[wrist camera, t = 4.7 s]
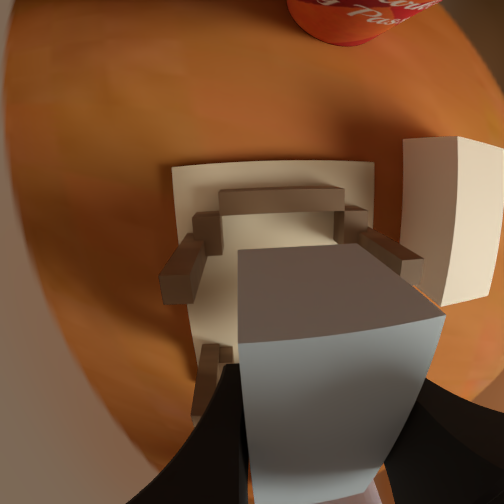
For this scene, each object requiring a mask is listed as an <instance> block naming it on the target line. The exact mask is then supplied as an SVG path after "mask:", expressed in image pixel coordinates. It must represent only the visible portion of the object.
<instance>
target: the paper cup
mask: <svg viewBox="0 0 504 504" xmlns="http://www.w3.org/2000/svg"><path fill="white" fill-rule="evenodd" d="M440 1H442V0H287V6H288V10H289V12H290V14H291V16H292V18H293V19H294V21H295V22H296V23H297V24H298V25H299V26H300V27H301V28H302V29H303V30H304V31H306V32H307V33H308V34H310V35H311V36H313V37H315V38H317V39H319V40H321V41H323V42H326V43H329V44H333V45H337V46H357V45H360V44H363V43H366V42H368V41H370V40H371V39H373V38H375V37H377V36H378V35H380V34H382V33H384V32H385V31H387V30H389V29H390V28H392V27H394V26H395V25H397V24H399V23H401V22H403V21H404V20H406V19H408V18H410V17H411V16H413V15H415V14H417V13H419V12H421V11H422V10H424V9H426V8H428V7H430V6H432V5H434V4H436V3H438V2H440Z"/></svg>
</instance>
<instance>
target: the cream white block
mask: <svg viewBox="0 0 504 504" xmlns="http://www.w3.org/2000/svg"><path fill="white" fill-rule="evenodd" d="M503 206H504V149H502V148H499V147H496V146H492V145H489V144H485V143H482V142H478V141H474V140H471V139H467V138H463V137H458V136H448V137H425V138H410V139H403V201H402V220H401V233H400V244H401V245H402V246H404V247H406V248H407V249H409V250H411V251H412V252H414V253H416V254H418V255H419V256H421V257H422V258H424V264H423V270H422V276H421V282H420V285H415V286H416V287H417V288H418V289H420V290H421V291H422V292H423V293H425V294H426V295H427V296H428V297H430V298H431V299H432V300H433V301H434V302H436V303H437V304H438V305H439V306H440V307H441V306H446V305H451V304H455V303H460V302H464V301H468V300H472V299H476V298H480V297H484V296H488V294H489V290H490V286H491V282H492V277H493V273H494V268H495V263H496V258H497V252H498V247H499V240H500V233H501V226H502V217H503Z"/></svg>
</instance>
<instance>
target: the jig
mask: <svg viewBox="0 0 504 504" xmlns="http://www.w3.org/2000/svg"><path fill="white" fill-rule="evenodd" d="M172 180H173V192H174V204H175V215H176V225H177V234H178V243H179V246H178V247H177V249H176V250H175V252H174V253H173V255H172V256H171V258H170V259H169V261H168V262H167V264H166V265H165V267H164V268H163V270H162V271H161V273H160V274H159V282H160V288H161V293H162V299H163V304H164V305H168V304H187V308H188V315H189V321H190V327H191V332H192V338H193V344H194V349H195V354H196V359H197V365H198V371H197V378H196V384H195V390H194V397H193V403H192V410H191V418H192V422H193V425H194V428H195V427H196V425H197V423H198V422H199V420H200V418H201V417H202V415H203V413H204V411H205V410H206V408H207V406H208V404H209V402H210V400H211V398H212V396H213V394H214V391H215V389H216V387H217V384H218V382H219V379H220V376H221V373H222V370H223V366H225V365H226V364H234V363H239V352H238V250H244V249H261V248H279V247H298V246H316V245H335V244H353V243H357V244H358V245H360V246H361V247H362V248H364V249H365V250H366V251H368V252H369V253H370V254H372V255H373V256H374V257H376V258H377V259H378V260H380V261H381V262H382V263H383V264H385V265H386V266H387V267H389V268H390V269H391V270H392V271H394V272H395V273H396V274H398V275H399V276H400V277H401V278H403V279H404V280H405V281H406V282H408V283H409V284H410V285H411V286H412V285H420V282H421V276H422V270H423V264H424V258H422V257H421V256H419V255H418V254H416V253H414V252H412V251H411V250H409V249H407V248H406V247H404V246H402V245H401V244H399V243H397V242H395V241H394V240H392V239H390V238H388V237H386V236H385V235H383V234H381V233H379V232H378V231H376V230H374V229H373V215H374V162H360V161H331V160H279V161H249V162H230V163H215V164H202V165H190V166H180V167H172Z"/></svg>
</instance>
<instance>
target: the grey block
mask: <svg viewBox="0 0 504 504" xmlns="http://www.w3.org/2000/svg"><path fill="white" fill-rule="evenodd" d="M445 317H446V314H445V313H443V312H442V311H441V310H440V309H439V308H438V307H436V306H435V305H434V304H433V303H432V302H431V301H429V300H428V299H427V298H426V297H425V296H423V295H422V294H421V293H420V292H419V291H417V290H416V289H415V288H414V287H412V286H411V285H410V284H409V283H408V282H406V281H405V280H404V279H403V278H401V277H400V276H399V275H398V274H396V273H395V272H394V271H392V270H391V269H390V268H389V267H387V266H386V265H385V264H383V263H382V262H381V261H380V260H378V259H377V258H376V257H374V256H373V255H372V254H370V253H369V252H368V251H366V250H365V249H364V248H362V247H361V246H360V245H358V244H357V243H353V244H335V245H316V246H298V247H279V248H261V249H244V250H238V352H239V363H240V374H241V385H242V395H243V405H244V414H245V424H246V433H247V442H248V451H249V460H250V469H251V477H252V485H253V493H254V501H255V504H314V503H320V502H325V501H330V500H335V499H339V498H344V497H348V496H352V495H356V494H359V493H363V492H365V490H366V489H367V487H368V486H369V484H370V483H371V481H372V480H373V478H374V477H375V475H376V474H377V472H378V470H379V469H380V467H381V466H382V464H383V462H384V461H385V459H386V457H387V456H388V454H389V452H390V451H391V449H392V447H393V445H394V443H395V442H396V440H397V438H398V436H399V434H400V432H401V430H402V428H403V426H404V424H405V422H406V420H407V418H408V416H409V414H410V412H411V410H412V408H413V406H414V403H415V401H416V399H417V397H418V394H419V392H420V390H421V387H422V385H423V382H424V380H425V377H426V375H427V372H428V370H429V367H430V364H431V361H432V359H433V356H434V353H435V350H436V347H437V344H438V341H439V338H440V334H441V331H442V328H443V324H444V321H445Z"/></svg>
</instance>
